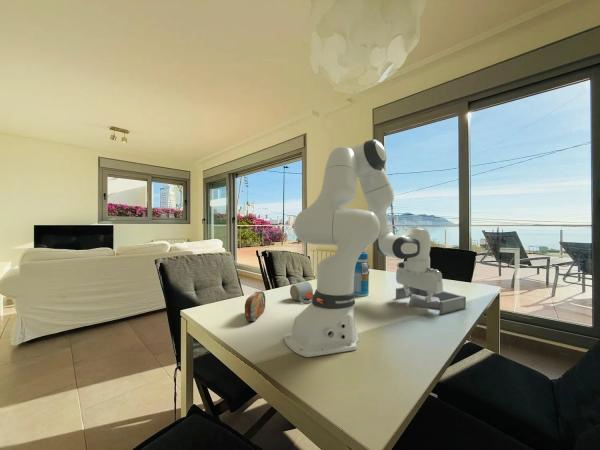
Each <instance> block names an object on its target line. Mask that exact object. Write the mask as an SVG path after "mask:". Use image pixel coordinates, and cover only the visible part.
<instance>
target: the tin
mask: <svg viewBox="0 0 600 450" xmlns="http://www.w3.org/2000/svg"><path fill="white" fill-rule="evenodd" d="M265 309H266V295H265V292H264V291H255V292H254V293H252V294H250V295H249V297H248V298H246V300H245V303H244V319H246V321H248V322H256V321H257V320H258V319H259V318H260V317H261V315H263V314H264V312H265Z"/></svg>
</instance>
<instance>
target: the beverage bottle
mask: <svg viewBox="0 0 600 450" xmlns="http://www.w3.org/2000/svg"><path fill="white" fill-rule="evenodd" d="M368 255H369V254H368V252H365V251H363V252H362V253H361V255H360V256H359V258H358V260H357V262H356V266H355V271H354V284H353V290H354V292H355V297H367V296H368V295H369V294H370V292H369V288H370V287H369V286H370V285H369V282H370V270H369V268H370V266H369V263H368V261H367V260H368Z"/></svg>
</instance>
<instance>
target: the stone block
mask: <svg viewBox="0 0 600 450" xmlns="http://www.w3.org/2000/svg"><path fill="white" fill-rule="evenodd" d="M426 297H427V296H426ZM409 303H410V306H411V307H416V308H417V307H419V308H428V309H435V310H436V309H437V310H440V300H439V298H437V297H431V302H429V303H428V302H425V297H424V296H420V295H415V294H411V297H409Z"/></svg>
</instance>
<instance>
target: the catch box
mask: <svg viewBox="0 0 600 450" xmlns="http://www.w3.org/2000/svg"><path fill="white" fill-rule="evenodd" d="M408 288H409V291H410V292H411V294H415V295H419V296H424V297H426V296H428V295H429V294H427V291H424V290H420V289H417V288H413V287H410V286H409V287H408ZM405 293H406V292H405V290H404V288H403V286H402V287H398V288H397V287H396V288H395V300H396V299H397V300H400V299H405V298H410V297H411V296H406V295H405ZM432 297H437V298H439V300H440V309H439V314H441V315H443V314H444V315H445V314H447V313H451V312H455V311H459V310H462V309H466V308H467V307H466V306H467V305H466V304H467V303H466V302H467V297H466V296H463V295H460V294H455V293H452V292H448V291H444V290H443V291H442V292H441V293H438V294H435V293H434V295H433V296H432Z"/></svg>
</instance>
